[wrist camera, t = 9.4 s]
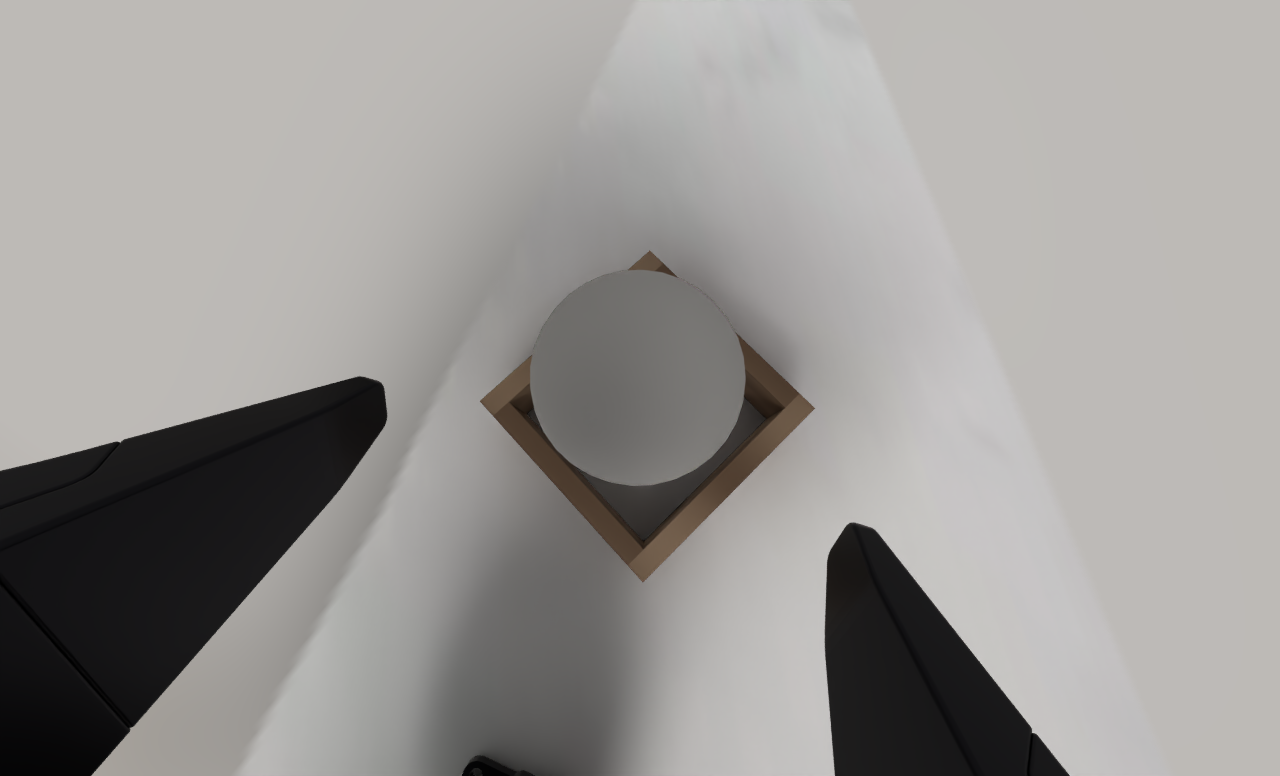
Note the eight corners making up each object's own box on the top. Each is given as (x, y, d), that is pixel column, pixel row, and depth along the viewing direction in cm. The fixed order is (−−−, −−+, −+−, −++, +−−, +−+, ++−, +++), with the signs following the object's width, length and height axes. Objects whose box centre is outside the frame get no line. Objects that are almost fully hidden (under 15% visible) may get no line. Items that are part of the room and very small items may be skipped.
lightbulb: (727, 459, 22) (813, 430, 11) (596, 506, 21) (549, 525, 10) (679, 333, 23) (712, 195, 12) (553, 377, 22) (472, 273, 12)
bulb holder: (643, 569, 21) (642, 582, 18) (501, 413, 22) (479, 401, 19) (792, 419, 22) (814, 408, 19) (649, 281, 23) (649, 250, 20)
